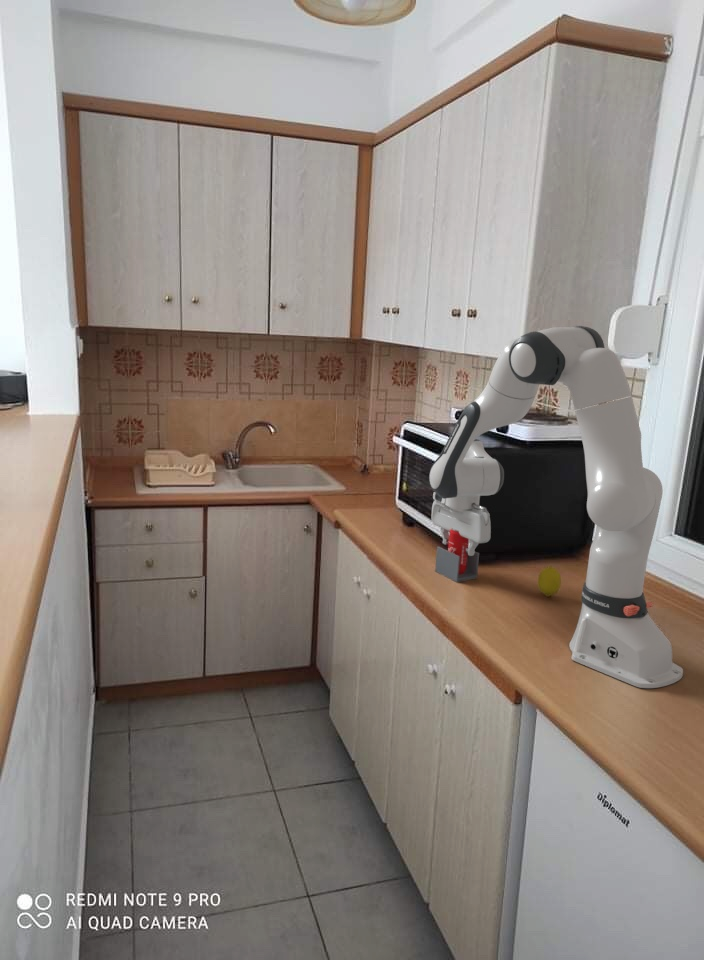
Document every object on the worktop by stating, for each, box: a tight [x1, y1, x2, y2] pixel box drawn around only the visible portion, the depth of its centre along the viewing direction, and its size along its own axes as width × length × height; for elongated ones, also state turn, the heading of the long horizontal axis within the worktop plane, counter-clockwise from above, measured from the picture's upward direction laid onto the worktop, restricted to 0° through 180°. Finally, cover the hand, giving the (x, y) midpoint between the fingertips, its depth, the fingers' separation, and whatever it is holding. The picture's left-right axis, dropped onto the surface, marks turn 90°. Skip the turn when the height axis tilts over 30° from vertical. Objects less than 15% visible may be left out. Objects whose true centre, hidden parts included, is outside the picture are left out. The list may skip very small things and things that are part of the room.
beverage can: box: [447, 528, 470, 574], centre depth 190 cm, size 5×5×12 cm
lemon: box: [537, 565, 562, 597], centre depth 179 cm, size 6×6×8 cm
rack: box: [434, 546, 480, 583], centre depth 191 cm, size 9×7×7 cm
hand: (458, 549), depth 190 cm, fingers open, 8 cm apart
